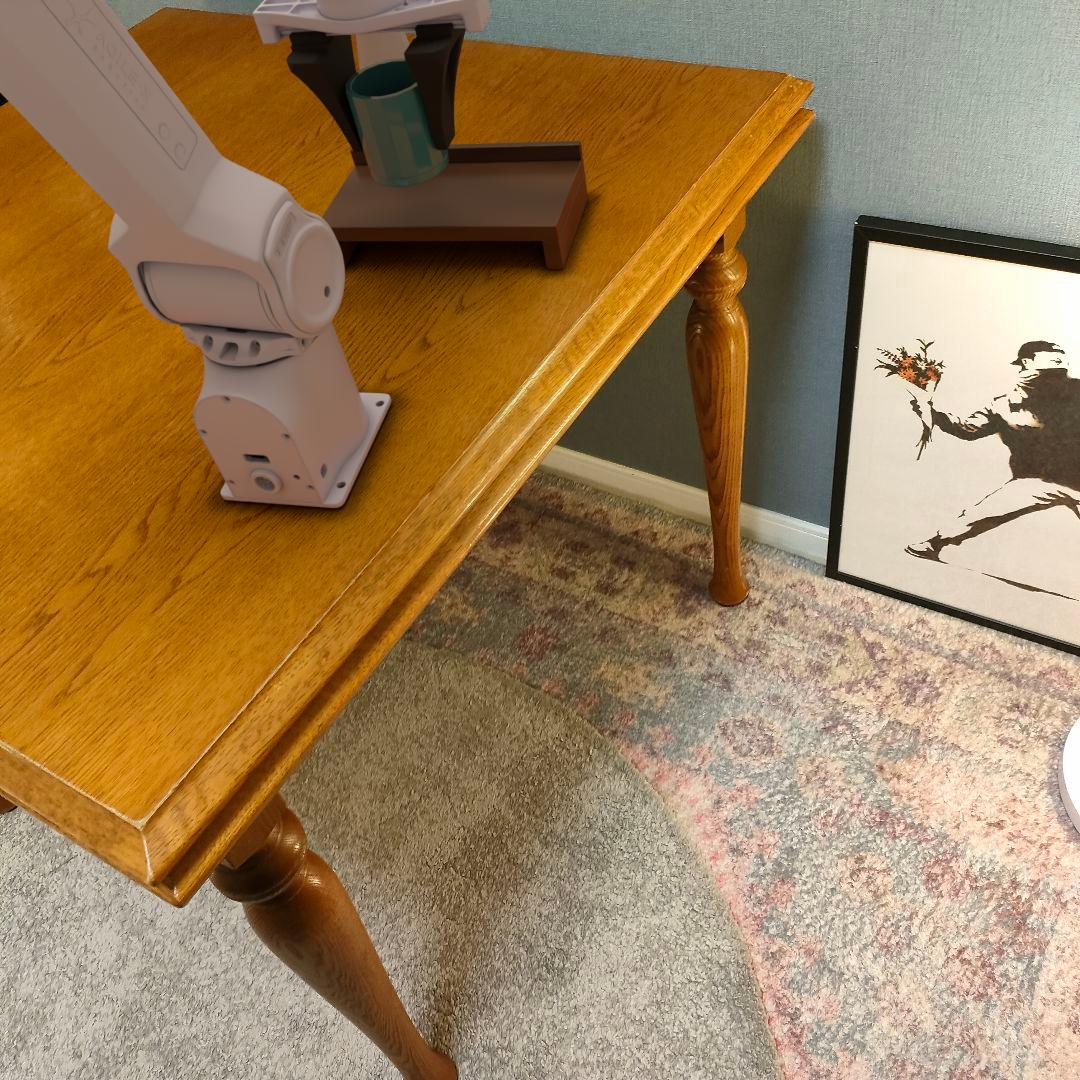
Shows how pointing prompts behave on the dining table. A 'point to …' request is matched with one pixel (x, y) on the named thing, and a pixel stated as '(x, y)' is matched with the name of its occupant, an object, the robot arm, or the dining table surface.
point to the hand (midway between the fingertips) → (404, 143)
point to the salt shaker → (380, 47)
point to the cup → (394, 125)
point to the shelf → (471, 199)
